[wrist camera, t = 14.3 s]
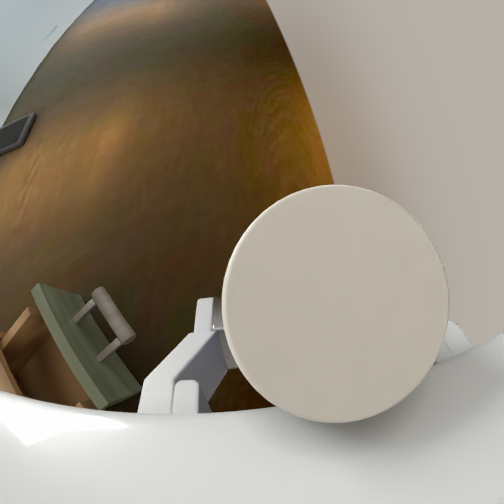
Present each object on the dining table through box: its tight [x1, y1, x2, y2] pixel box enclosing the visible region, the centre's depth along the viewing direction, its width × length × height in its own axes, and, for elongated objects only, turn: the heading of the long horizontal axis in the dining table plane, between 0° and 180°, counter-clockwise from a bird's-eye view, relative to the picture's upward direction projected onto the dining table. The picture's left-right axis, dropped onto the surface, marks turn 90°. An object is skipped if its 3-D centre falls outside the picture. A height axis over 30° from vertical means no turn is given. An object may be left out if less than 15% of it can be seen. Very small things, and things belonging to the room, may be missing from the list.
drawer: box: [0, 283, 142, 410], centre depth 19 cm, size 19×11×7 cm, turn 132°
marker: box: [222, 185, 449, 423], centre depth 10 cm, size 3×3×14 cm
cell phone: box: [0, 112, 37, 155], centre depth 33 cm, size 7×14×1 cm, turn 92°
